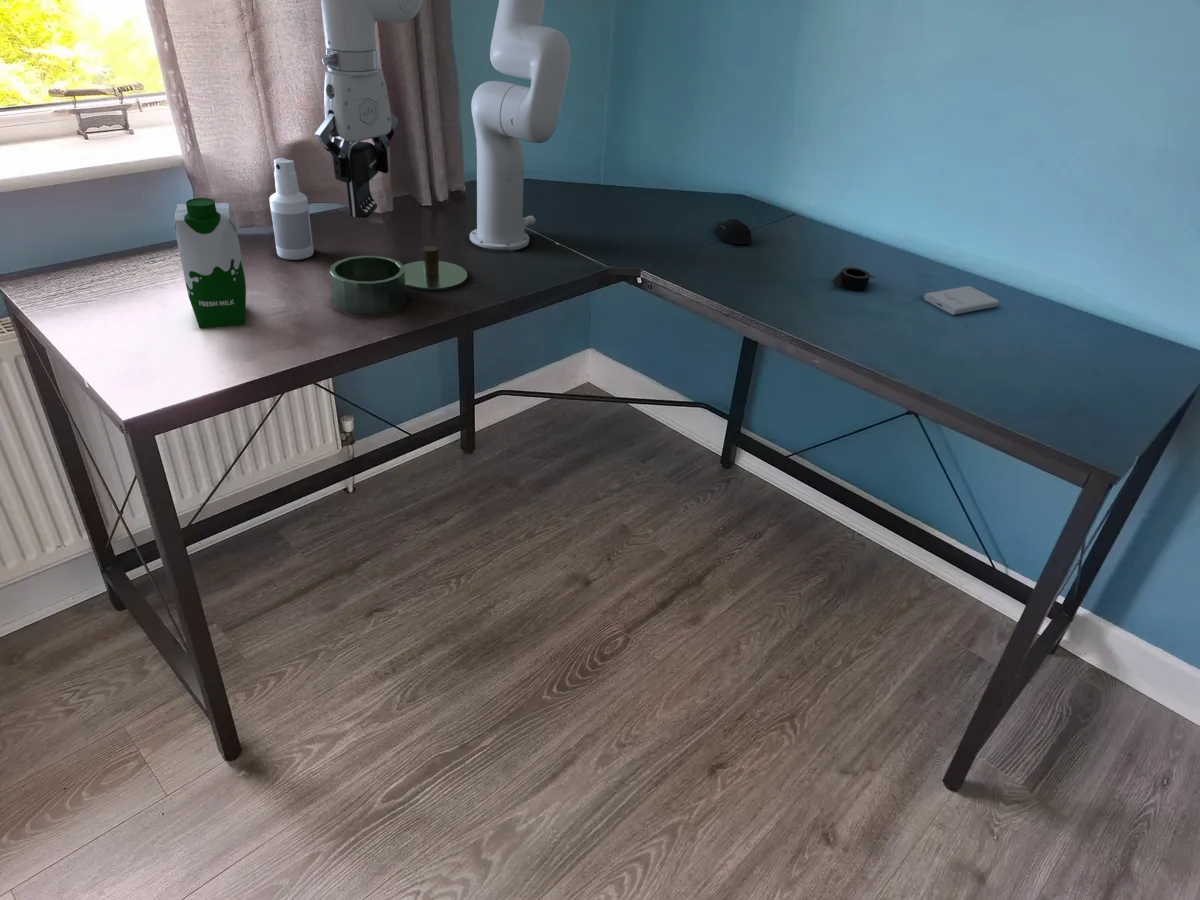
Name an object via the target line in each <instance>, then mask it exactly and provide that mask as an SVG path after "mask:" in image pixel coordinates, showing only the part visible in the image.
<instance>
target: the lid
mask: <svg viewBox="0 0 1200 900" xmlns="http://www.w3.org/2000/svg"><path fill="white" fill-rule="evenodd" d="M402 265H403V266H404V267H405V282H406V288H409V289H412V290H416V291H424V292H440V291H442V292H443V291H448V290H452V289H455V288H459V287H460V286H462V285H464V284H465V283H466V282H467V281H468V272H467V270H466V269H465V268H463V267H462V266H460V265H458V264H455V263H452V262H448V261H442V260H440V259H439V248H438V247H437V246H435V245H426V246H424V247H422V260H417V261H413V262H409V263H405V264H402Z"/></svg>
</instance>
